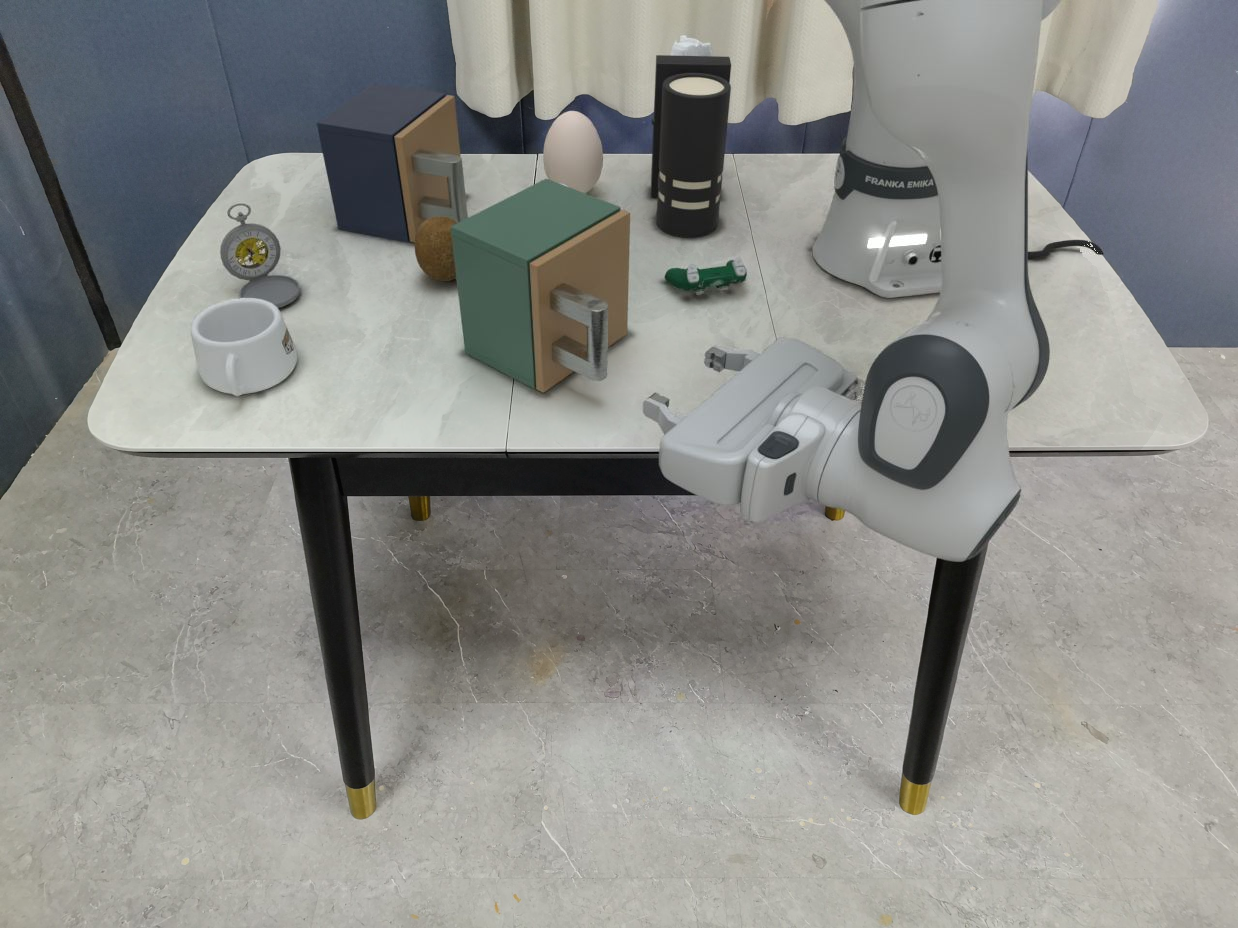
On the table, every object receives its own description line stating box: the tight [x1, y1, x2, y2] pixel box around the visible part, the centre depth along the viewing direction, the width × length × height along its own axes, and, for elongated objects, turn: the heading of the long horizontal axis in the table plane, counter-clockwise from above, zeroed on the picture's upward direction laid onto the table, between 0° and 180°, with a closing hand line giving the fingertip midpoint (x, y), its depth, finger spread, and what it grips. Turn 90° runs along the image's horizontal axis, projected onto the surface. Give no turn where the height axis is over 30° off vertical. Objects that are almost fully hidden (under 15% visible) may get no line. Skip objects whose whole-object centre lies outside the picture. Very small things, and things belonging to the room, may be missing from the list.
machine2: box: [451, 178, 622, 390], centre depth 96 cm, size 10×14×15 cm
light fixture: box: [650, 54, 732, 238], centre depth 117 cm, size 10×14×18 cm
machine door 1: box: [394, 94, 469, 243], centre depth 116 cm, size 7×14×14 cm, turn 162°
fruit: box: [413, 216, 457, 282], centre depth 107 cm, size 6×6×8 cm
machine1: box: [316, 82, 447, 243], centre depth 117 cm, size 10×14×14 cm
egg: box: [542, 110, 604, 194], centre depth 123 cm, size 8×8×11 cm
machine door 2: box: [530, 209, 631, 393], centre depth 92 cm, size 7×14×14 cm, turn 142°
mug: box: [189, 297, 298, 397], centre depth 93 cm, size 12×10×6 cm
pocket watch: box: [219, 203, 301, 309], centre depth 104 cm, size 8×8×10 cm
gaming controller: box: [663, 256, 748, 296], centre depth 108 cm, size 9×4×6 cm
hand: (679, 377), depth 83 cm, fingers open, 8 cm apart
